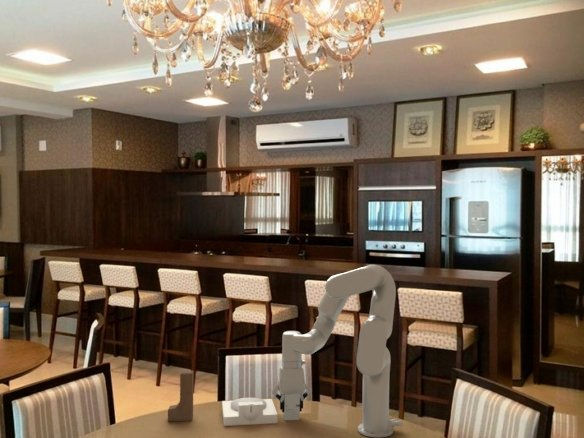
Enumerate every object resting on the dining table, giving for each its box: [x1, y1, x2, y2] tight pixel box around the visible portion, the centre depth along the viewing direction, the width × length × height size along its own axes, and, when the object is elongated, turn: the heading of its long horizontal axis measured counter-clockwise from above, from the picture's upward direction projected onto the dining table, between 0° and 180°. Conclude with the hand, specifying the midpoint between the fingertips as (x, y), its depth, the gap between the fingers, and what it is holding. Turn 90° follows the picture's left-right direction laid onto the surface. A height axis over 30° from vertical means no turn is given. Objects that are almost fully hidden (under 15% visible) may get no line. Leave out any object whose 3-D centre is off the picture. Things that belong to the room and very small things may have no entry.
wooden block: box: [167, 370, 195, 422], centre depth 206 cm, size 9×4×18 cm, turn 93°
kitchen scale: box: [221, 397, 279, 427], centre depth 210 cm, size 20×18×8 cm
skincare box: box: [282, 394, 301, 421], centre depth 208 cm, size 6×4×12 cm
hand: (291, 410), depth 208 cm, fingers closed on skincare box, 6 cm apart
